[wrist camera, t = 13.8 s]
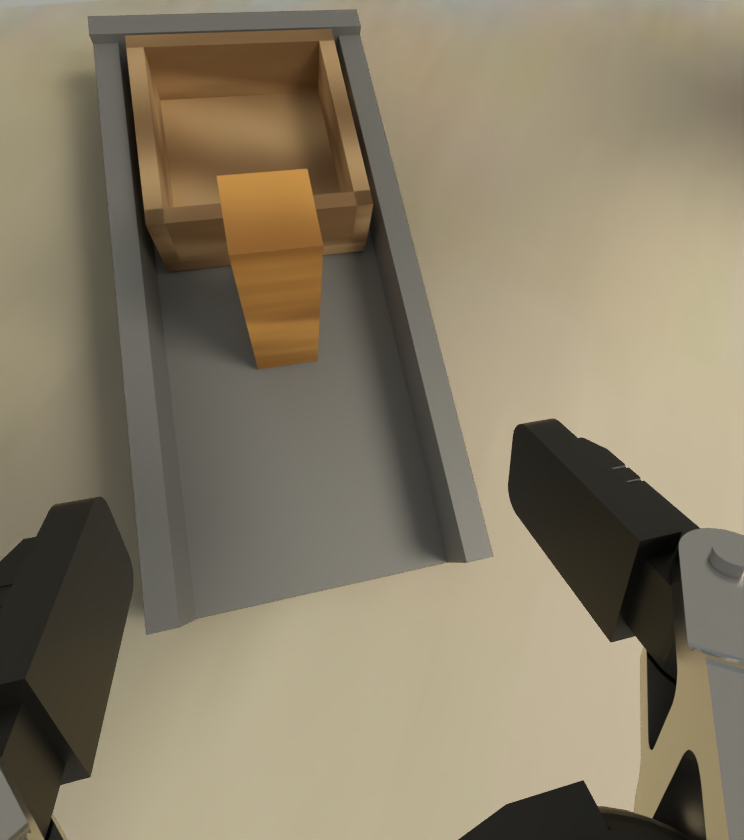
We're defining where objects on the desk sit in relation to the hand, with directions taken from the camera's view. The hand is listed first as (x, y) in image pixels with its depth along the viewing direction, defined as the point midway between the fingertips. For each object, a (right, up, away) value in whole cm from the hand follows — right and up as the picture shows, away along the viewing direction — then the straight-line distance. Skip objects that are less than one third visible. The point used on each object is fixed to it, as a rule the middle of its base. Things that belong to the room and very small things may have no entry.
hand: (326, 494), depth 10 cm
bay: (-4, +8, +17) cm, 20 cm away
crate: (-5, +12, +17) cm, 22 cm away
